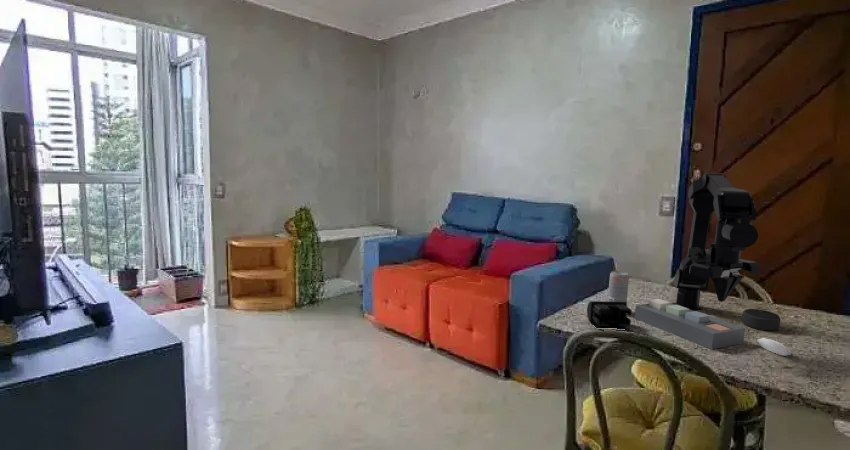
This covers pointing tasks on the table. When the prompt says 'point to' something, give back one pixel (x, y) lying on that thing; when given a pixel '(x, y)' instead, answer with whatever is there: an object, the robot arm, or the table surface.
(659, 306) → the key ivory
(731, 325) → the keypad
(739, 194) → the robot arm
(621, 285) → the energy drink
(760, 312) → the smart speaker
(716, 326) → the key terracotta
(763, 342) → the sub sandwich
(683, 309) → the key sage
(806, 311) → the table surface
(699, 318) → the key slate
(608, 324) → the end cap
